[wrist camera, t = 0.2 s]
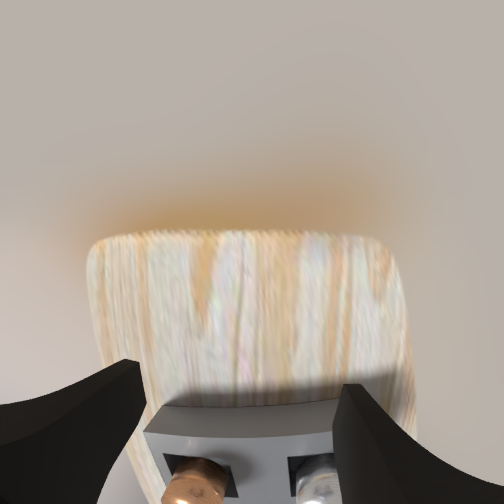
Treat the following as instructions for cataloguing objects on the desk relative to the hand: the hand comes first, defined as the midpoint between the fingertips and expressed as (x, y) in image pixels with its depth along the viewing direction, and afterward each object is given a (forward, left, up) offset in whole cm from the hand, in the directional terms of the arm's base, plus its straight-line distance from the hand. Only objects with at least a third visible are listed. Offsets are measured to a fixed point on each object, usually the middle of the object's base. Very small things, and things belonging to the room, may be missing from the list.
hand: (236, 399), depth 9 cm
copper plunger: (-12, -4, -7) cm, 15 cm away
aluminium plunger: (-6, -11, -7) cm, 14 cm away
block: (-9, -8, -11) cm, 16 cm away
